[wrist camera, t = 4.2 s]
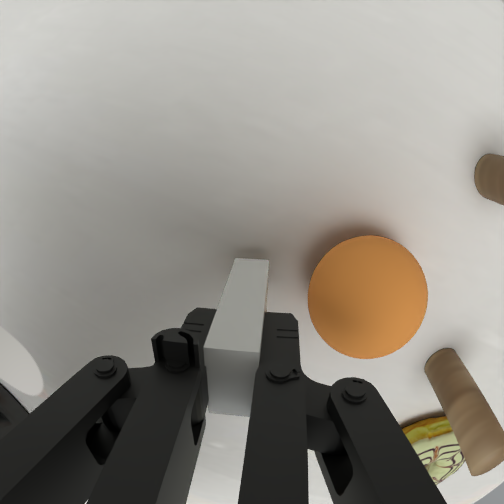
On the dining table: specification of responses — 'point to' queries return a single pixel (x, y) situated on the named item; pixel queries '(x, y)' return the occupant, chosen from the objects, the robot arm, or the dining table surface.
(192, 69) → the dining table surface
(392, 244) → the ball
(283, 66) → the dining table surface
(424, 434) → the decorated donut
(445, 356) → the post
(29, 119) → the dining table surface
